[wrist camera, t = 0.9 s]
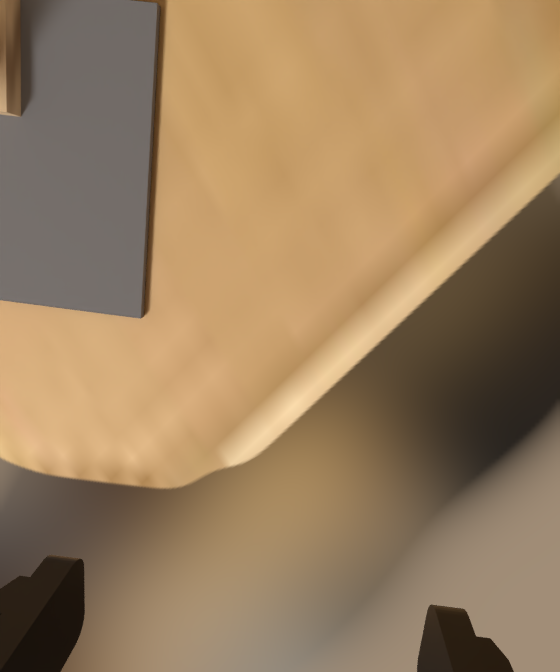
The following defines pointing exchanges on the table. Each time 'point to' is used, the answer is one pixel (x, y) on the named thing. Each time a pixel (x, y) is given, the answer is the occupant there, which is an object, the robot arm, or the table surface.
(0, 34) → the slot stand
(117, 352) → the table surface
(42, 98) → the mat
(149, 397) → the table surface
